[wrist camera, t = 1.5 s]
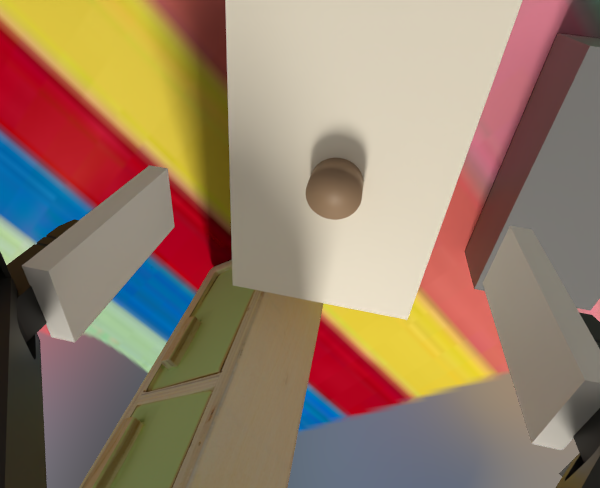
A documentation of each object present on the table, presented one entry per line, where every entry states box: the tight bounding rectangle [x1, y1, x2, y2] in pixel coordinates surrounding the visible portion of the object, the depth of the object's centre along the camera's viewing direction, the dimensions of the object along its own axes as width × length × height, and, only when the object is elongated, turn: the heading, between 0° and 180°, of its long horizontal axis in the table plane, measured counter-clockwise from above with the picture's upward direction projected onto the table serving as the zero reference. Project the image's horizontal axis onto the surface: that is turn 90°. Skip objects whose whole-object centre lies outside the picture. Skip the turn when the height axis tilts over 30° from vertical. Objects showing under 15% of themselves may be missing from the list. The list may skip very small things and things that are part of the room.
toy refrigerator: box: [79, 260, 323, 488], centre depth 25 cm, size 8×7×21 cm
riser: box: [465, 33, 600, 310], centre depth 22 cm, size 14×7×4 cm, turn 175°
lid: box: [225, 0, 522, 320], centre depth 18 cm, size 15×10×4 cm, turn 175°
